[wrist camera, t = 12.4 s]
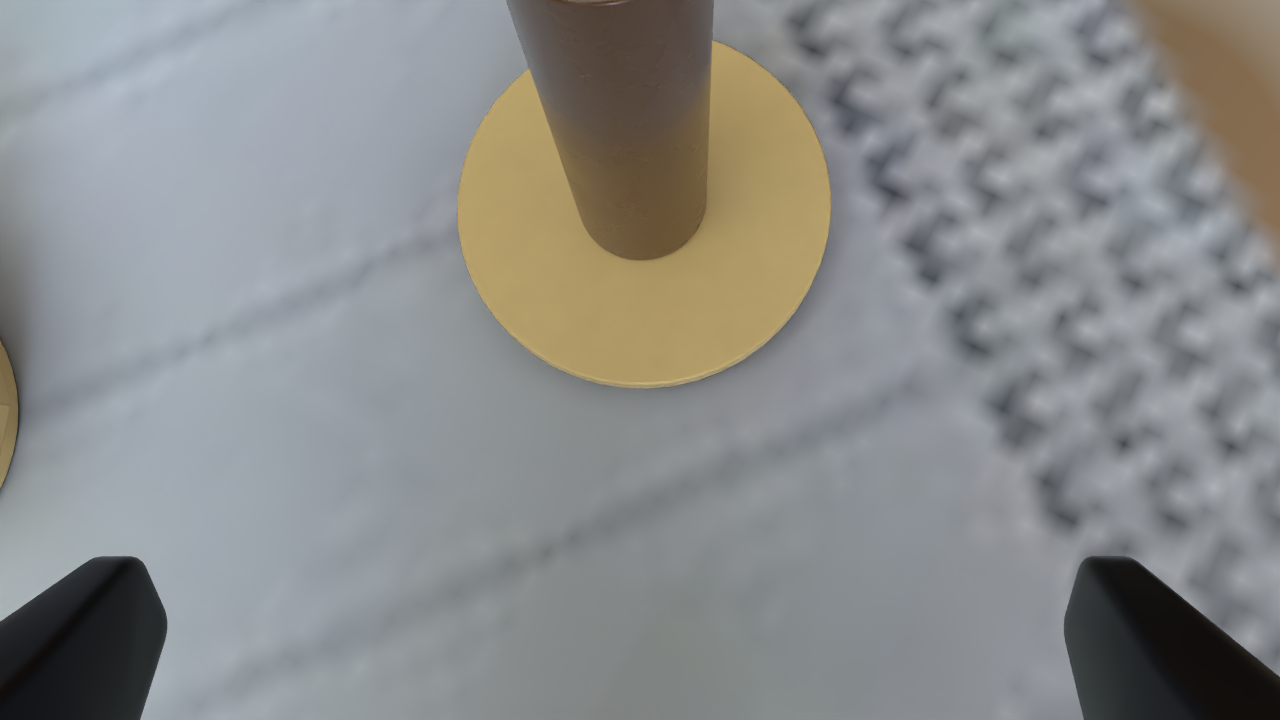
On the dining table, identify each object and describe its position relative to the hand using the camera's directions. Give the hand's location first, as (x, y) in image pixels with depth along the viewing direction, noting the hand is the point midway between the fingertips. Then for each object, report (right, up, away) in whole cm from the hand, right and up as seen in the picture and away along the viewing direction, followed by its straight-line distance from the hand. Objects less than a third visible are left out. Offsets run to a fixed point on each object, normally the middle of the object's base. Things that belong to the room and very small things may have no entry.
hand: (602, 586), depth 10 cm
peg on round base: (0, +5, +11) cm, 12 cm away
